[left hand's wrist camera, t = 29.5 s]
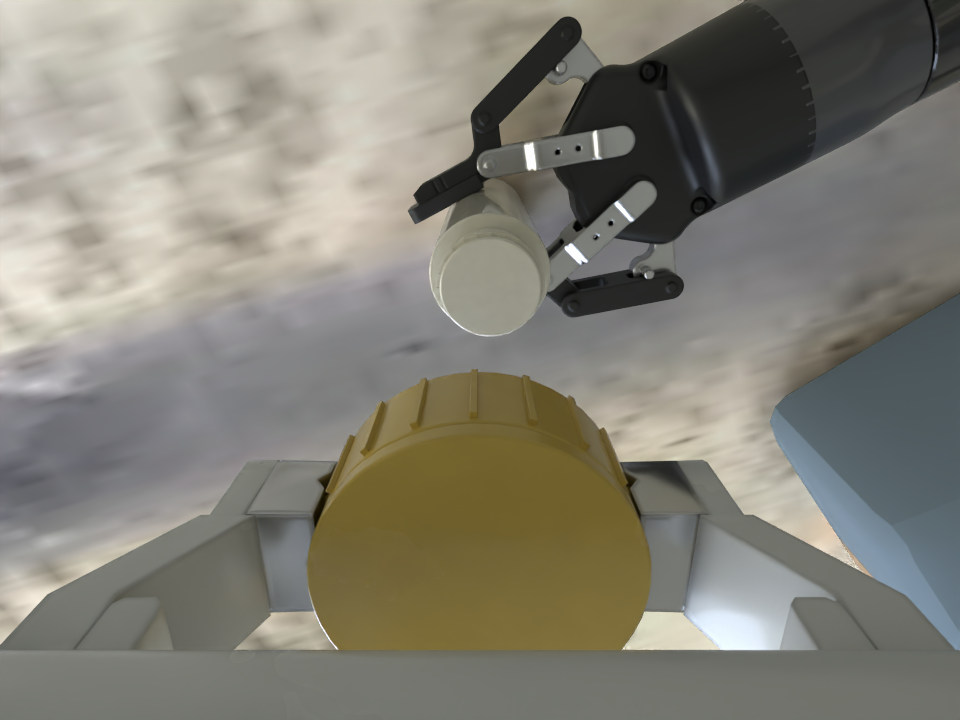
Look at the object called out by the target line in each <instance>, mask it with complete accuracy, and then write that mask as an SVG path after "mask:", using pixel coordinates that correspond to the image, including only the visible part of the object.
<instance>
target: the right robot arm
mask: <svg viewBox="0 0 960 720" xmlns="http://www.w3.org/2000/svg"><path fill="white" fill-rule="evenodd" d="M581 35H582V29H581V26H580V24H579V22H578V21H577V20H576V19H575V18H573V17H563V18H561V19H560V20H559V21H558V22H557V23H556V24H555V25H554V26H553V27H552V28H551V29H550V30H549V31H548V32H547V33H546V34H545V35H544V36H543V37H542V38H541V39H540V40H539V41H538V42H537V44H536V45H535V46H534V47H533V48H532V49H531V50H530V51H529V52H528V53H527V54H526V55H525V56H524V57H523V58H522V59H521V60H520V61H519V62H518V63H517V64H516V66H515V67H514V68H513V69H512V70H511V71H510V72H509V73H508V74H507V75H506V76H505V77H504V78H503V79H502V80H501V81H500V82H499V83H498V84H497V85H496V86H495V88H494V89H493V90H492V91H491V92H490V93H489V94H488V95H487V96H486V97H485V98H484V99H483V100H482V101H481V102H480V103H479V104H478V105H477V106H476V107H475V109H474V110H473V112H472V114H471V123H472V131H473V139H474V150H473V152H472V154H471V156H470V157H469V158H468V159H466V160H464V161H463V162H461V163H459V164H457V165H455V166H453V167H452V168H450V169H448V170H446V171H444V172H443V173H441V174H439V175H437V176H435V177H434V178H432V179H430V180H428V181H426V182H425V183H423V184H422V185H421V186H420V187H419V189H418V190H417V191H416V192H415V194H414V195H413V196H414V197H415V199H416V201H417V203H416V204H415V205H413V206H412V207H410V209H409V210H408V212H409V214H410V216H411V218H412V220H413V221H414V223H415V224H417V223H419V222H421V221H423V220H425V219H427V218H428V217H430V216H432V215H434V214H436V213H438V212H440V211H441V210H443V209H445V208H447V207H449V206H451V205H453V204H454V203H456V202H458V201H460V200H462V199H463V198H465V197H467V196H469V195H471V194H473V193H475V192H477V191H478V190H480V189H482V188H484V182H485V181H487V180H489V179H491V178H495V177H500V176H505V175H511V174H516V173H522V172H527V171H537V170H543V169H549V168H553V169H554V171H555V173H556V176H557V178H558V179H559V180H560V181H561V182H562V184H563V185H564V186H565V187H566V188H567V190H568V193H569V199H570V206H571V209H572V211H573V213H574V215H575V217H576V218H575V219H574V220H573V221H572V222H571V223H570V224H569V225H568V226H567V227H565V228H564V230H563V231H562V232H561V233H560V235H559V237H558V238H557V239H556V240H555V241H554V242H553V243H552V244H551V245H550V246H549V247H548V248H547V249H546V250H547V253H548V257H549V261H550V267H551V276H550V284H549V288H548V291H547V294H546V296H548V297H549V298H551V299H552V300H553V301H554V302H555V303H556V304H557V305H558V306H559V307H561V308H562V311H563V312H564V314H565V315H567V316H569V317H579V316H584V315H590V314H595V313H600V312H605V311H611V310H616V309H621V308H627V307H632V306H637V305H642V304H648V303H653V302H658V301H664V300H669V299H674V298H676V297H678V296H679V295H680V294H681V293H682V291H683V288H684V283H683V280H682V279H681V278H680V277H679V276H678V275H677V274H676V268H675V255H674V242H673V241H674V240H675V239H677V238H678V237H679V236H680V235H681V234H682V232H683V231H684V230H685V228H686V227H687V226H688V225H689V224H690V223H691V222H692V221H693V220H695V219H696V218H698V217H699V216H701V215H703V214H706V213H708V212H710V211H712V210H714V209H716V208H718V207H720V206H722V205H724V204H726V203H728V202H730V201H732V200H734V199H736V198H738V197H740V196H742V195H744V194H746V193H748V192H750V191H752V190H754V189H756V188H758V187H760V186H762V185H764V184H766V183H768V182H770V181H772V180H774V179H776V178H779V177H781V176H783V175H785V174H787V173H789V172H791V171H793V170H795V169H797V168H799V167H801V166H803V165H805V164H807V163H809V162H811V161H813V160H815V159H817V158H819V157H821V156H823V155H825V154H827V153H829V152H831V151H833V150H835V149H837V148H839V147H841V146H843V145H845V144H847V143H849V142H851V141H853V140H855V139H857V138H858V137H860V136H862V135H864V134H865V133H867V132H868V131H870V130H872V129H873V128H875V127H876V126H878V125H879V124H881V123H882V122H884V121H885V120H887V119H888V118H890V117H891V116H893V115H894V114H896V113H898V112H900V111H901V110H903V109H905V108H907V107H909V106H911V105H913V104H915V103H917V102H919V101H921V100H923V99H925V98H927V97H929V96H931V95H933V94H935V93H937V92H939V91H941V90H943V89H945V88H947V87H949V86H951V85H953V84H955V83H957V82H959V81H960V0H745V1H744V2H743V3H741V4H739V5H737V6H736V7H734V8H732V9H730V10H728V11H727V12H725V13H723V14H721V15H719V16H718V17H716V18H714V19H712V20H710V21H709V22H707V23H705V24H703V25H701V26H700V27H698V28H696V29H694V30H692V31H691V32H689V33H687V34H685V35H683V36H682V37H680V38H678V39H676V40H674V41H673V42H671V43H669V44H667V45H665V46H664V47H662V48H660V49H658V50H656V51H655V52H653V53H651V54H649V55H647V56H646V57H644V58H642V59H640V60H638V61H636V62H634V63H632V64H627V65H607V66H603V65H602V63H601V62H600V61H599V60H598V58H597V57H596V56H595V55H594V53H593V52H592V51H591V49H590V48H589V47H588V46H587V44H586V43H585V42H584V41H583V39H582V38H581ZM544 78H545V79H546V80H547V81H548V82H549V83H550V84H553V85H560V84H562V83H564V82H566V81H568V80H569V79H571V78H577V79H580V80H582V81H583V82H584V85H583V87H582V89H581V91H580V93H579V95H578V97H577V99H576V101H575V103H574V105H573V107H572V109H571V111H570V113H569V114H568V116H567V118H566V120H565V122H564V124H563V126H562V128H561V130H560V132H559V134H557V135H552V136H546V137H541V138H536V139H530V140H526V141H522V142H517V143H511V144H506V145H501V140H500V131H499V124H500V123H501V122H502V121H503V120H504V119H505V118H506V117H507V116H508V115H509V114H510V113H511V111H512V110H513V109H514V108H515V107H516V106H517V105H518V104H519V103H520V102H521V101H522V100H523V99H524V98H525V97H526V96H527V95H528V94H529V93H530V92H531V91H532V90H533V89H534V88H535V87H536V86H537V85H538V84H539V83H540V82H541V81H542V80H543V79H544ZM583 227H584V228H583ZM594 235H597V236H596V238H593V237H594ZM613 238H616V239H623V240H630V241H636V242H643V243H650V245H649V248H648V250H647V251H646V252H645V253H644V254H642V255H640V256H637V257H635V258H634V259H633V260H632V261H631V263H630V266H629V270H623V271H618V272H613V273H608V274H603V275H598V276H592V277H587V278H582V279H577V280H572V281H571V280H570V279H569V278H568V276H569V275H570V274H571V273H572V272H574V271H575V270H576V269H577V268H578V267H579V266H580V265H582V264H584V263H586V262H588V261H589V260H591V259H592V258H593V257H594V256H595V255H596V254H597V253H598V252H599V251H600V250H601V249H602V248H604V247H605V246H606V245H607V244H608V243H609V242H610V241H611V240H612V239H613Z"/></svg>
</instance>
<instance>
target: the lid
mask: <svg viewBox="0 0 960 720" xmlns="http://www.w3.org/2000/svg"><path fill="white" fill-rule="evenodd" d="M626 484H628V482H627V479H626V477H625V474H624V472H623V470H622V467H621V465H620V463H619V460H618V458H617V455H616V453H615V451H614V448H613V446H612V443H611V441H610V439H609V436H608V434H607V432H606V430H605V429H604V428H602V429H600V430H599V428H598V427H597V425H596V424H595V423H594V422H593V421H592V420H591V418H590V417H589V416H588V415H587V414H586V413H585V412H584V411H583V410H582V409H581V408H579V407H578V406H577V405H576V402H575V399H574V398H573V397H571V396H568V397H567V398H566V397H564V396H563V395H561V394H559V393H558V392H556V391H554V390H553V389H551V388H548V387H546V386H544V385H541V384H539V383H537V382H534V381H531V380H530V377H529V376H526V375H523V377H522V378H521V377H517V376H513V375H506V374H500V373H489V372H478V369H471V372H470V373H458V374H452V375H447V376H442V377H437V378H434V379H431V380H428V381H427V378H424V379H421V380H420V382H419V384H417V385H415V386H413V387H411V388H409V389H407V390H404V391H402V392H400V393H399V394H397V395H396V396H394V397H393V398H391V399H390V400H388V401H387V402H385V403H384V402H383V401H381V402H379V403H378V404H377V406H376V409H375V412H374V413H373V414H372V415H371V416H370V417H369V418H368V419H367V421H366V422H365V423H364V424H363V425H362V426H361V428H360V429H359V431H358V432H357V434H356V435H355V437H354V436H352V435H350V436H349V438H348V439H347V442H346V444H345V446H344V449H343V451H342V453H341V456H340V458H339V460H338V463H337V465H336V467H335V470H334V472H333V474H332V477H331V479H330V481H329V484H328V486H327V488H326V492H327V493H329V494H328V495H326V497H325V499H326V503H325V506H324V508H323V511H322V513H321V516H320V518H319V520H318V523H317V525H316V528H315V530H314V532H313V535H312V539H311V543H310V547H309V551H308V560H307V581H308V590H309V594H310V598H311V602H312V606H313V609H314V612H315V614H316V616H317V619H318V621H319V623H320V625H321V627H322V629H323V630H324V632H325V633H326V635H327V637H328V638H329V640H330V641H331V642H332V644H333V645H334V646H335V647H336V648H337V650H622V649H623V647H624V646H625V644H626V643H627V642H628V640H629V639H630V638H631V636H632V635H633V633H634V631H635V630H636V628H637V626H638V624H639V622H640V620H641V618H642V616H643V613H644V610H645V607H646V605H647V602H648V597H649V592H650V586H651V571H652V563H651V556H650V549H649V544H648V541H647V538H646V535H645V532H644V529H643V526H642V524H641V521H640V519H639V516H638V514H637V511H636V509H635V506H634V504H633V502H632V499H631V497H630V487H627V486H626Z"/></svg>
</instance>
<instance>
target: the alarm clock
mask: <svg viewBox="0 0 960 720" xmlns="http://www.w3.org/2000/svg"><path fill="white" fill-rule="evenodd" d="M770 423H771V426H772V430H773V433H774V435H775V438H776V441H777V443H778V445H779V446H780V448H781V449H782V451H783V452H784V454H785V456H786V457H787V459H788V460H789V462H790V463H791V465H792V466H793V468H794V469H795V471H796V473H797V474H798V476H799V477H800V479H801V480H802V482H803V483H804V485H805V486H806V488H807V490H808V491H809V493H810V494H811V496H812V497H813V499H814V500H815V502H816V503H817V505H818V507H819V508H820V510H821V511H822V513H823V514H824V516H825V517H826V519H827V520H828V522H829V523H830V525H831V527H832V528H833V530H834V531H835V533H836V534H837V536H838V537H839V539H840V540H841V542H842V544H843V545H844V547H845V548H846V550H847V551H848V553H849V554H850V556H851V557H852V559H853V561H854V562H855V563H856V564H857V565H858V567H859V568H860V569H861V570H862V571H863V572H864V573H865V574H866V575H868V576H870V577H872V578H874V579H876V580H878V581H880V582H882V583H884V584H885V585H887V586H889V587H891V588H893V589H895V590H897V591H899V592H901V593H903V594H904V595H906V596H907V597H908V598H909V599H910V600H911V601H912V602H913V603H914V604H915V606H916V607H917V608H918V609H919V610H920V611H921V612H922V613H923V614H924V615H925V617H926V618H927V619H928V620H929V621H930V622H931V623H932V624H933V625H934V626H935V628H936V629H937V630H938V631H939V632H940V633H941V634H942V635H943V636H944V637H945V638H946V640H947V641H948V642H949V643H950V644H951V645H952V646H953V647H954V648H955V649H956V650H960V294H958V295H957V296H955V297H953V298H951V299H950V300H948V301H946V302H945V303H943V304H941V305H940V306H938V307H936V308H935V309H933V310H931V311H929V312H928V313H926V314H924V315H923V316H921V317H919V318H918V319H916V320H914V321H912V322H911V323H909V324H907V325H906V326H904V327H902V328H901V329H899V330H897V331H896V332H894V333H892V334H890V335H889V336H887V337H885V338H884V339H882V340H880V341H879V342H877V343H875V344H873V345H872V346H870V347H868V348H867V349H865V350H863V351H862V352H860V353H858V354H856V355H855V356H853V357H851V358H850V359H848V360H846V361H845V362H843V363H841V364H840V365H838V366H836V367H834V368H833V369H831V370H829V371H828V372H826V373H824V374H823V375H821V376H819V377H817V378H816V379H814V380H812V381H811V382H809V383H807V384H806V385H804V386H802V387H801V388H799V389H797V390H795V391H794V392H792V393H790V394H789V395H787V396H786V397H785V398H784V399H783V400H782V401H781V402H780V403H779V404H778V405H777V406H776V407H775V409H774V412H773V415H772V417H771V420H770Z"/></svg>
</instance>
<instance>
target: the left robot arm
mask: <svg viewBox="0 0 960 720" xmlns="http://www.w3.org/2000/svg"><path fill="white" fill-rule="evenodd" d="M337 463H338V462H335V461H283V460H282V461H279V460H253V461H249V462H247V463H246V465H245V466H244V467H243V469H242V470H241V472H240V473H239V474H238V476H237V477H236V479H235V480H234V482H233V483H232V484H231V486H230V487H229V489H228V490H227V491H226V493H225V494H224V496H223V497H222V499H221V500H220V501H219V503H218V504H217V506H216V507H215V508H214V510H213V511H212V513H211V514H210V515H200V516H198V517H196V518H194V519H192V520H190V521H188V522H186V523H184V524H182V525H180V526H178V527H177V528H175V529H173V530H171V531H169V532H167V533H165V534H163V535H161V536H159V537H157V538H155V539H153V540H151V541H150V542H148V543H146V544H144V545H142V546H140V547H138V548H136V549H134V550H132V551H130V552H128V553H126V554H125V555H123V556H121V557H119V558H117V559H115V560H113V561H111V562H109V563H107V564H105V565H103V566H101V567H100V568H98V569H96V570H94V571H92V572H90V573H88V574H86V575H84V576H82V577H80V578H78V579H76V580H74V581H73V582H71V583H69V584H67V585H65V586H63V587H61V588H59V589H57V590H55V591H53V592H51V593H49V594H48V595H47V596H46V597H45V598H44V599H43V600H42V601H41V602H40V603H39V604H38V605H37V606H36V607H35V608H34V609H33V611H32V612H31V613H30V614H29V615H28V616H27V617H26V618H25V619H24V620H23V621H22V622H21V623H20V624H19V626H18V627H17V628H16V629H15V630H14V631H13V632H12V633H11V634H10V635H9V636H8V637H7V638H6V639H5V641H4V642H3V643H2V644H1V645H0V720H960V650H956V649H955V648H954V647H953V646H952V645H951V644H950V643H949V642H948V641H947V640H946V638H945V637H944V636H943V635H942V634H941V633H940V632H939V631H938V630H937V629H936V628H935V626H934V625H933V624H932V623H931V622H930V621H929V620H928V619H927V618H926V617H925V615H924V614H923V613H922V612H921V611H920V610H919V609H918V608H917V607H916V606H915V604H914V603H913V602H912V601H911V600H910V599H909V598H908V597H907V596H906V595H904V594H903V593H901V592H899V591H897V590H895V589H893V588H891V587H889V586H887V585H885V584H884V583H882V582H880V581H878V580H876V579H874V578H872V577H870V576H868V575H866V574H865V573H863V572H861V571H859V570H857V569H855V568H853V567H851V566H849V565H847V564H846V563H844V562H842V561H840V560H838V559H836V558H834V557H832V556H830V555H828V554H827V553H825V552H823V551H821V550H819V549H817V548H815V547H813V546H811V545H809V544H808V543H806V542H804V541H802V540H800V539H798V538H796V537H794V536H792V535H790V534H789V533H787V532H785V531H783V530H781V529H779V528H777V527H775V526H773V525H771V524H770V523H768V522H766V521H764V520H762V519H760V518H758V517H756V516H754V515H744V514H743V513H742V511H741V510H740V508H739V507H738V506H737V504H736V503H735V501H734V500H733V498H732V497H731V495H730V494H729V493H728V491H727V490H726V488H725V487H724V485H723V484H722V483H721V481H720V480H719V478H718V477H717V475H716V474H715V473H714V471H713V470H712V468H711V467H710V465H709V464H708V463H707V462H706V461H704V460H685V461H646V462H619V463H620V465H621V467H622V470H623V472H624V474H625V477H626V479H627V482H628V484H626V486H627V487H630V497H631V499H632V502H633V504H634V506H635V509H636V511H637V514H638V516H639V519H640V521H641V524H642V526H643V529H644V532H645V535H646V538H647V541H648V544H649V549H650V556H651V563H652V571H651V586H650V592H649V597H648V602H647V605H646V607H645V610H644V611H652V612H684V616H686V617H687V618H688V619H689V620H690V621H691V622H692V623H693V624H694V625H695V626H696V627H697V628H698V629H699V630H700V631H702V632H703V633H704V634H705V635H706V636H707V637H708V638H709V639H710V640H711V641H712V642H713V643H714V644H715V645H717V646H718V647H719V648H720V649H721V650H233V649H235V648H236V647H237V646H238V645H239V644H240V643H241V642H242V641H243V640H244V639H245V638H246V637H248V636H249V635H250V634H251V633H252V632H253V631H254V630H255V629H256V628H257V627H258V626H259V625H261V624H262V623H263V622H264V621H265V620H266V619H267V618H268V617H269V616H270V612H302V611H314V609H313V606H312V602H311V598H310V594H309V590H308V581H307V560H308V551H309V547H310V543H311V539H312V535H313V532H314V530H315V528H316V525H317V523H318V520H319V518H320V516H321V513H322V511H323V508H324V506H325V503H326V499H325V497H326V495H328V494H329V493H327V492H326V488H327V486H328V484H329V481H330V479H331V477H332V474H333V472H334V470H335V467H336V465H337Z"/></svg>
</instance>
